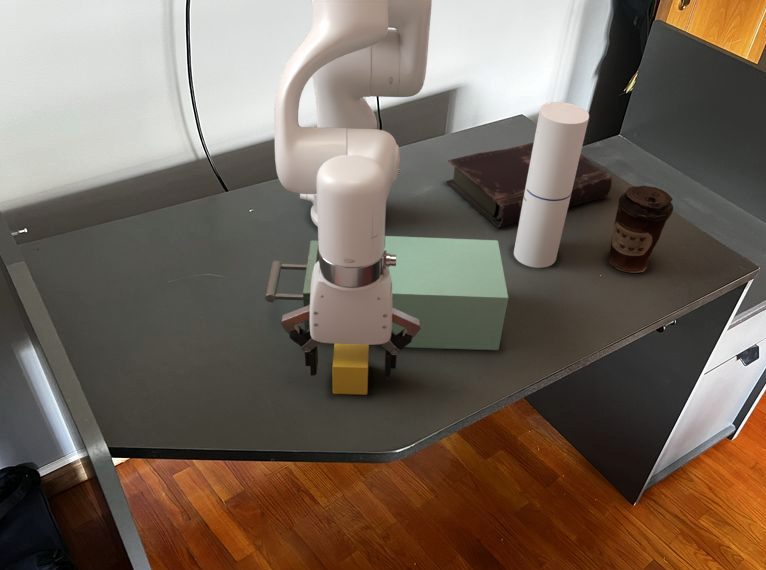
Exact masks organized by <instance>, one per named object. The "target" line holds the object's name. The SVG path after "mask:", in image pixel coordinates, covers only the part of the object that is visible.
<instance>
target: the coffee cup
mask: <svg viewBox="0 0 766 570" xmlns="http://www.w3.org/2000/svg"><path fill="white" fill-rule="evenodd" d="M672 201H673V198H672V196H671V195H670V194H669V193H668V192H666V191H665V190H663V189H661V188H658V187H655V186H649V185H640V186H639V185H638V186H634V185H633V186H630V187H628V188H627V189H626V191H625V192H624V193H622V194H621V195H620V196H619V198H618V204H617V211H616V213H615V219H614V224H613V230H612V233H611V241H610V250H609V253H608V261H609V264H610V265H611V266H613V267H614V268H615V269H617V270H619V271H622V272H625V273H631V274H638V273H644V272H645V271H646V269H648V261H649V258H650V257H651V255H652V253H653V250H654V248H656V247H657V244H658V242H659V240H660V237H661V234H662V232H663V229H664V228H665V226H666V223H667V221H668V220H669V219H670V217H671V216H672V214H673V211H674V205H673V203H672Z"/></svg>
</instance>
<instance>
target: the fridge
mask: <svg viewBox="0 0 766 570" xmlns="http://www.w3.org/2000/svg"><path fill="white" fill-rule="evenodd" d="M384 247H385V251H387V253H390V255H396V266H389V270H390V275H391V281H392V303H393V308H395V309H397V310H399V311H401V312H404V313H406V314H408V315H410V316H412V317H415V318H417V319H419V320H420V325H421V329H420V330H419V331H418V333H417V334H416V335H415V337H413V338H412V341H411V343H409V344H408V345H407V346H405V347H404V348H412V349H413V348H414V349H415V348H417V349H418V348H419V349H446V350H447V349H448V350H477V351H478V350H479V351H499V350H500V345H501V340H502V335H503V334H502V333H503V329H504V323H505V317H506V312H507V308H508V307H507V306H508V302H509V294H508V288H507V284H506V277H505V271H504V266H503V260H502V254H501V249H500V245H499V240H497V239H495V240H493V239H471V238H468V239H467V238H450V237H449V238H448V237H446V238H445V237H422V236H419V237H418V236H399V235H398V236H397V235H385V242H384ZM404 329H406V328H404V327H402V326H400V325H398V324H395V323H393V322H392V330H393V331H394V332H395V333H396V334H398V333H399V332H401V331H402V330H404Z"/></svg>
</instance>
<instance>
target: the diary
mask: <svg viewBox="0 0 766 570" xmlns="http://www.w3.org/2000/svg"><path fill="white" fill-rule="evenodd" d="M533 144H534V141H533V142H529V143H526V144H521V145H517V146H512V147H508V148H504V149H503V148H502V149H496V150H490V151H483V152H476V153H474V154H473V153H472V154H469V155H464V156H460V157H456V158H452V159H448V160H447V162H448V163H449V164H450V165H452V166H453V167H454V168H453V169H454V171H453V179H449V180H446V181H445V183H446V184H447V185H448V186H449V187H451V189H453V190H454V191H455V192H456V193H458V194H459V196H461V197H462V198H463V199H464V200H465V201H467V202H468V203H469V204H470V205H471V206H472V207H474V208H475V210H477V211H478V212H479V213H480V214H481V215H482V216H483V217H485V218H486V219H487V220H488V221H489V222H491V223H492V224H493V225H494V226H495V227H496V228H498V229H499V228H502V227H504V226H505V227H506V226H509V225H512V224H515V223H519V220H520V215H521V209H522V204H523V198H524V193H525V187H526V182H527V176H528V171H529V166H530V160H531V155H532V150H533ZM612 182H613V176H612V175H611V174H609V173H607V172H606V171H604V170H603V169H601V168H600V167H599V166H598V165H596V164H595V163H594V162H593V161H591V160H590V159H588V158H587V157H586V156H585V155H584V154H582V153H581V154H580V158H579V162H578V167H577V171H576V175H575V180H574V184H573V188H572V192H571V197H570V201H569V206H568V208H571V207H574V206H577V205H579V204H583V203H588V202H592V201H596V200H600V199H601V200H602V199H604V198H607V197H608V196H609V193H610V191H611V188H612Z"/></svg>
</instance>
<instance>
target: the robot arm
mask: <svg viewBox="0 0 766 570" xmlns="http://www.w3.org/2000/svg"><path fill="white" fill-rule="evenodd" d="M432 3H433V0H311V25H310V26H311V27H310V30H309V32H308V34H307V36H306V38H305V39H304V40H303V41H302V42H301V43H300V44H299V46H298V47H297V48H296V49H295V51H294V52H293V54H292V55H291V56H290V57H289V58H288V61H287V63H286V64H285V66H284V68H283V69H282V72H281V74H280V76H279V80H278V83H277V86H276V89H275V95H274V103H273V123H274V124H273V125H274V126H273V127H274V128H273V129H274V161H275V169H276V171H275V172H276V176H277V178H278V181H279V182H280V185H281V186H282V187H283V188H284V189H285V190H287V191H289V192H291V193H294V194H299V199H300V200H302V201H306V202H311V204H312V205H311V207H310V218H311V221H312V223H313V224H314V225H315V226H316V227H317V239H318V240H317V241H318V245H319V261H318V262H317V263H316V264H315V265H314V269H313V273H312V280H311V291H310V305H308V306H305V307H304V306H303V307H301V308H298V309H295V310H292V311H290V312H287V313H285V314H282V316H281V318H280V325H281V327H282V328H283V329H284V331H285V332H286V333H287V334H288V335H289V339H290V340H291V341H293V342H294V343H296V344H297V345H298V346H300V348H301V351H302V352H303V353H304V362H305V363H304V364H305V365H304V366H305V367H309V368H310V369H309V370H310V376H311V377H315V376H316V375H317V374H318V373H317V372H318V363H319V352H318V349H319V347H318V345H319V344H320V343H322V344H334V343H335V344H369V346H370V345H371V346H372V345H373V346H375V345H381V347H383V348H384V349H385V355H384V377H385V378H387V379H391V369H392V370H393V369H394V370H396V369H397V357H398V355H399V354H400V351H401V350H403V349H404V348H406V347H405V346H407V345H408V344H409V343H411V341H412V338H413V337H415V335H416V334H417V333H418V331H419V330H420V329H421V325H420V320H419V319H417V318H415V317H412V316H410V315H408V314H406V313H404V312H401V311H399V310H397V309H395V308H393V303H392V281H391V275H390V270H389V266H396V255H390V253H387V251H384V247H385V236H386V213H387V200H388V197H389V195H390V191H391V190H392V187H393V184H394V182H395V181H397V179H398V177H399V173H400V168H401V167H400V166H401V152H400V147H399V145H398V144H397V142H396V139H395V137H394V136H393V135H392V134H391V133H390V132H388V131H386V130H383V129H378V122H377V117H376V115H375V112H374V110H373V109H372V107H371V106H370V105H369V103H368V101H367V100H366V99H365V98H370V97H376V98H380V97H381V98H410V97H414V96H416V95H418V94H419V93H420V92H421V91H422V89H423V87H424V84H425V80H426V75H427V66H428V53H429V44H430V43H429V40H430V32H431V31H430V29H431V18H432V17H431V15H432ZM310 79H312V84H313V90H314V97H315V110H316V111H315V112H316V126H301V125H300V122H299V109H300V102H301V97H302V94H303V91H304V89H305V87H306V85H307V83H308V82H309V80H310ZM309 319H310V328H309V329H308V330H307V331H305V329H303V328H302V327H301V326H300V325H299V324H301V323H304V321H307V320H309ZM392 322H393V323H395V324H398V325H400V326H402V327H404V328H406V329H404V330H402V331H401V332H399V333H398V334H396V333H395V332H394V331H393V330H392Z"/></svg>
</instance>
